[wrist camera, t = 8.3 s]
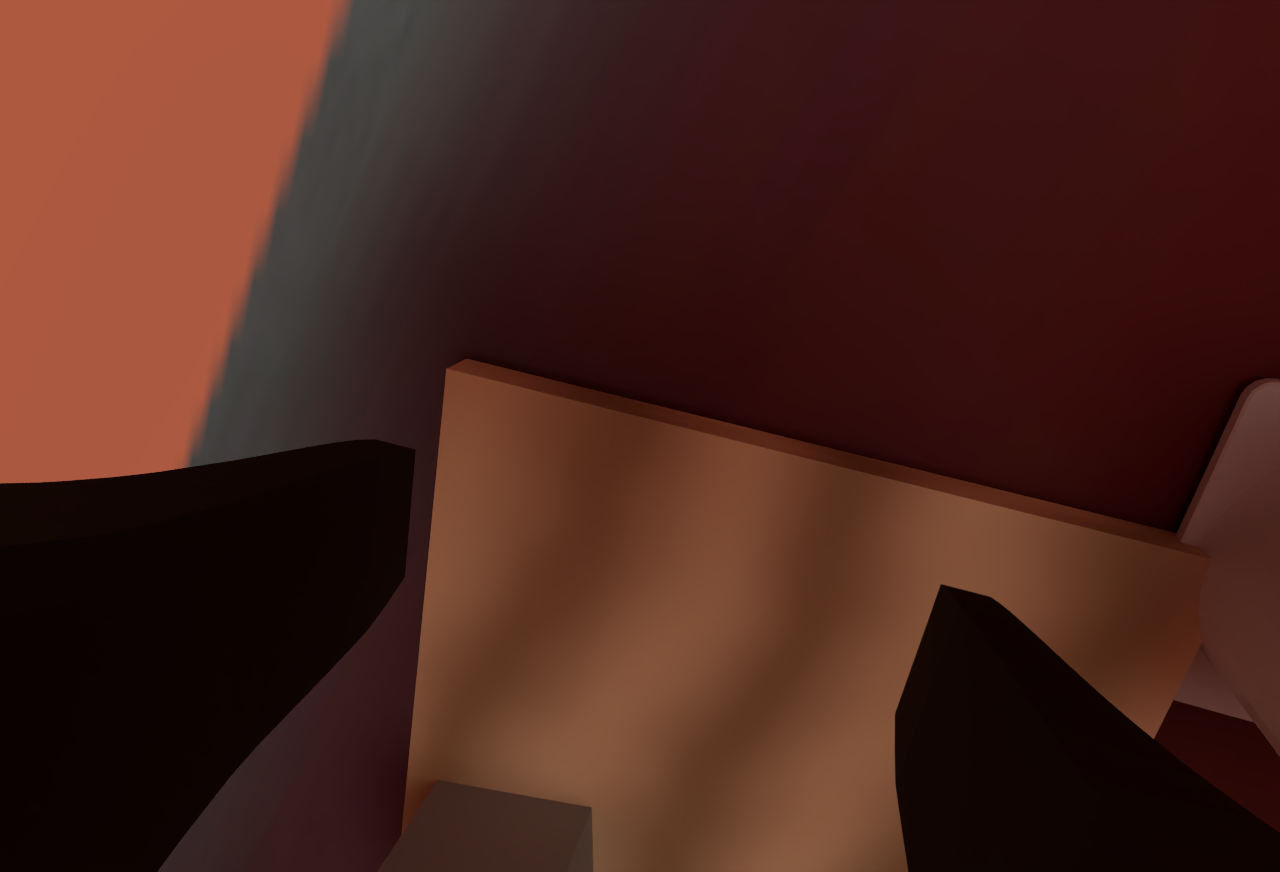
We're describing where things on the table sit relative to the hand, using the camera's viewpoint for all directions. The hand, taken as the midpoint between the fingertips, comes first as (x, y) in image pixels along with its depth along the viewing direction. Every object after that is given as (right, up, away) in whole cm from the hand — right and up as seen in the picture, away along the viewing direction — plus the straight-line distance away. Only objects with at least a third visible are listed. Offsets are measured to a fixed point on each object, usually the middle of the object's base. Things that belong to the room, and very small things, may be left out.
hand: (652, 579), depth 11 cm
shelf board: (+2, -8, +13) cm, 16 cm away
